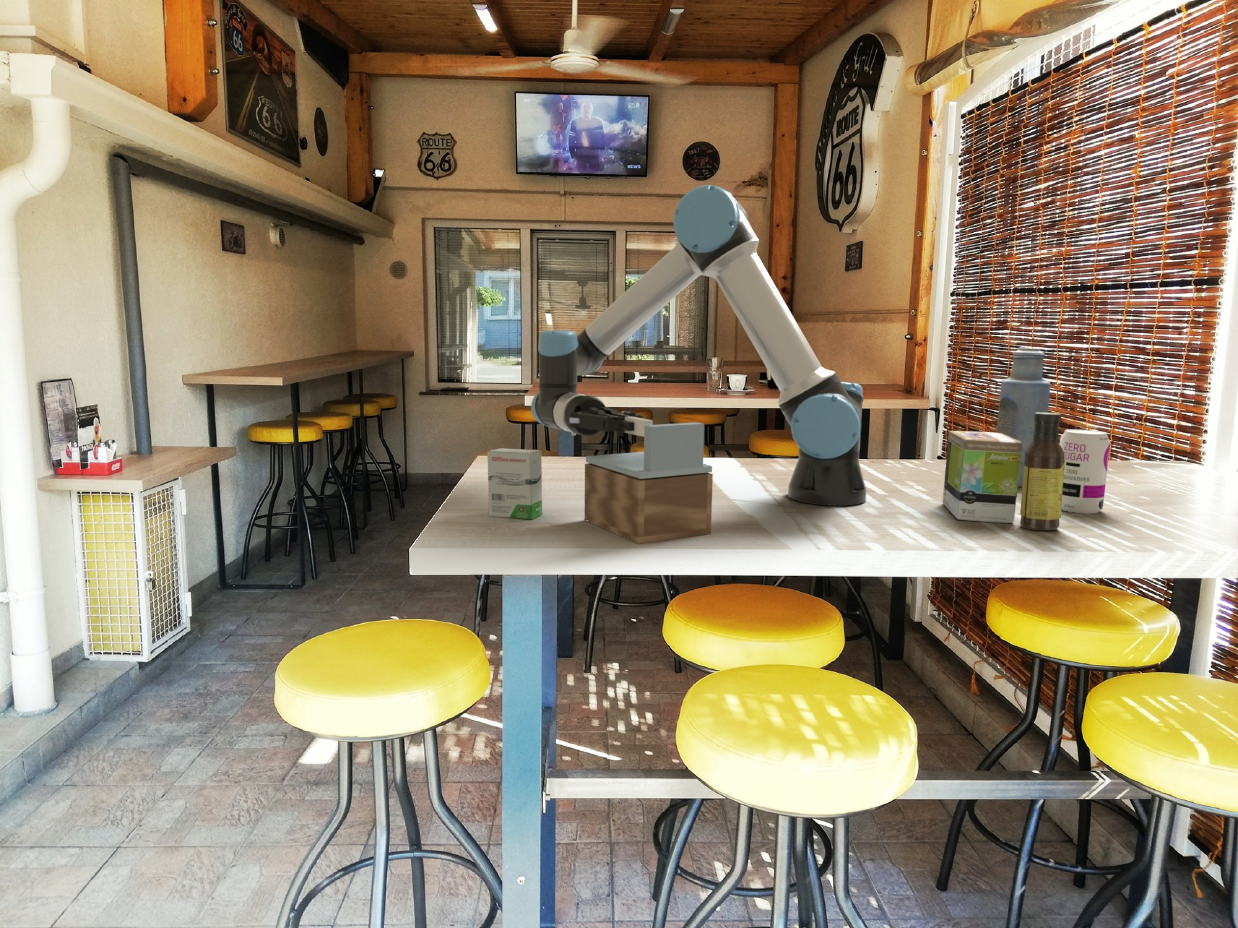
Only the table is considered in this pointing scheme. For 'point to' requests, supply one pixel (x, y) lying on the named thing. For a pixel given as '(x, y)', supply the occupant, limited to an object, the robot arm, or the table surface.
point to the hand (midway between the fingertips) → (648, 428)
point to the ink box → (515, 483)
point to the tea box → (982, 476)
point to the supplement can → (1084, 470)
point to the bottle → (1023, 399)
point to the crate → (648, 504)
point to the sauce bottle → (1043, 475)
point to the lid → (661, 453)
